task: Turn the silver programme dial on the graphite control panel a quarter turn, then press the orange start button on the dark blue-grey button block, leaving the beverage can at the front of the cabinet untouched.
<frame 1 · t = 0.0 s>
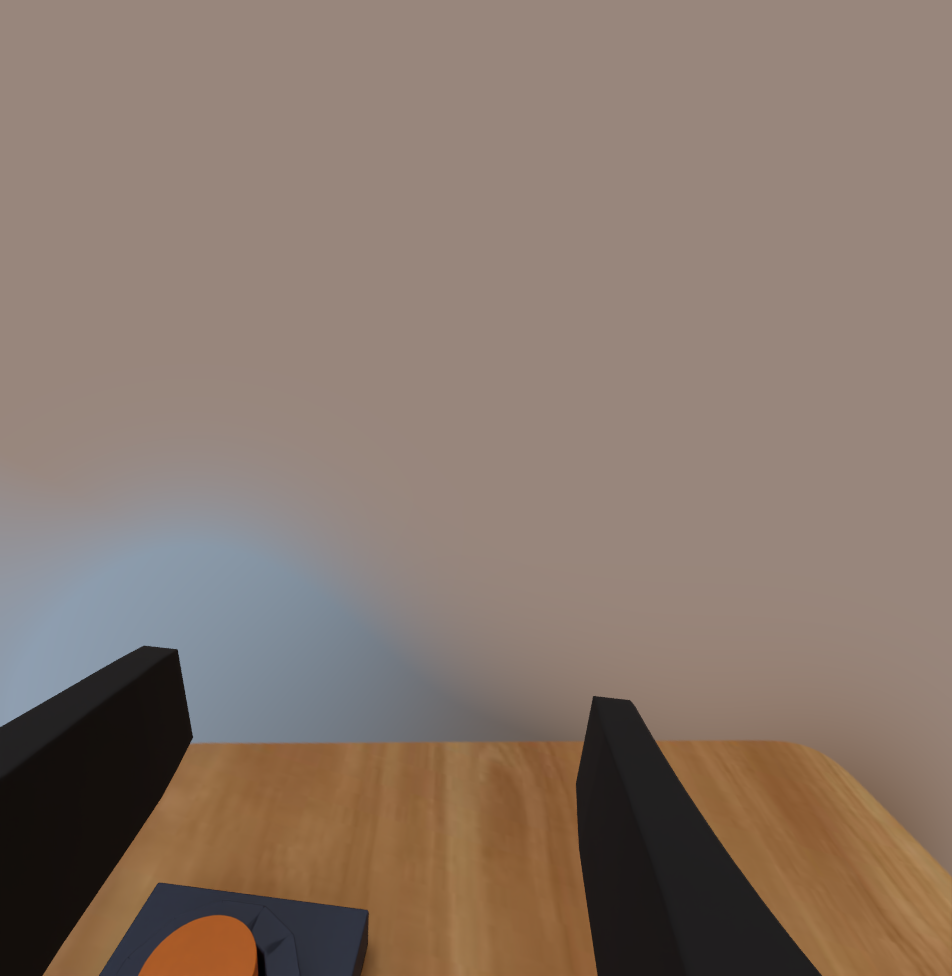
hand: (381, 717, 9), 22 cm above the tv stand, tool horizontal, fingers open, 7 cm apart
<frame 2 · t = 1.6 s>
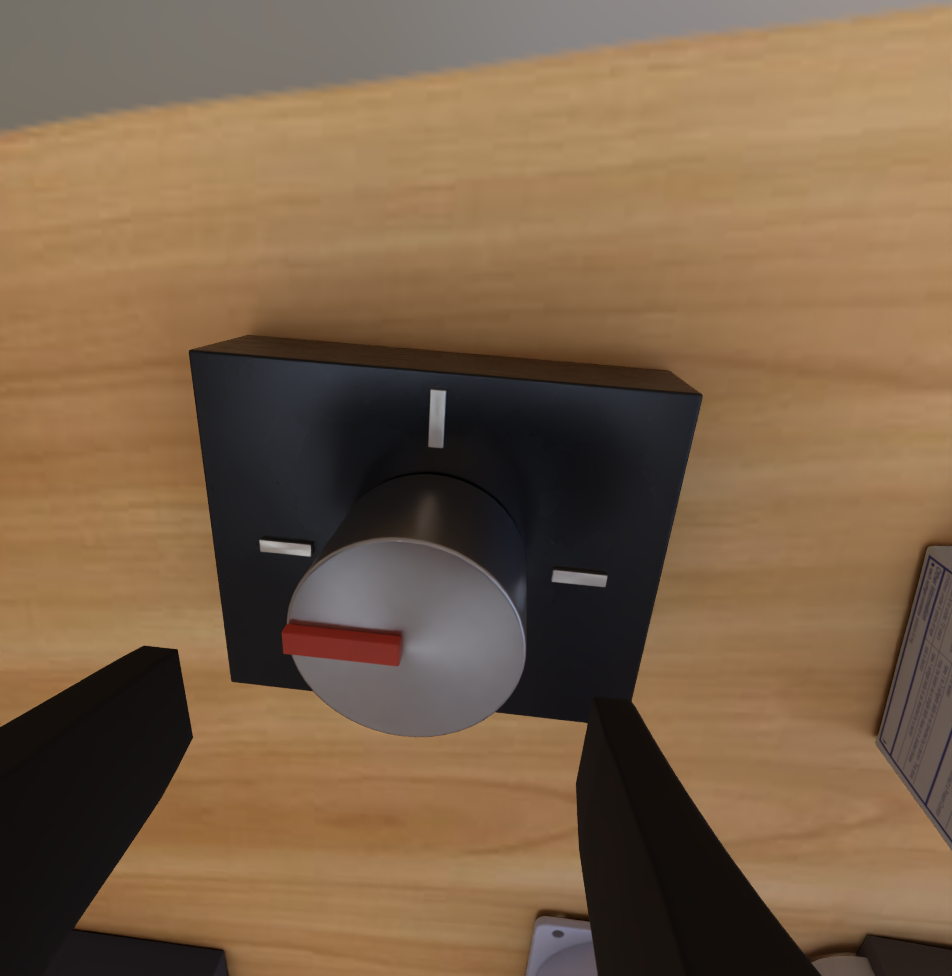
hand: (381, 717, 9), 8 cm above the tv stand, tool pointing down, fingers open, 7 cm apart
programme dial: (418, 602, 13), point 5 cm above the tv stand, hinge at 0.0°
dial panel: (446, 512, 17), on the tv stand
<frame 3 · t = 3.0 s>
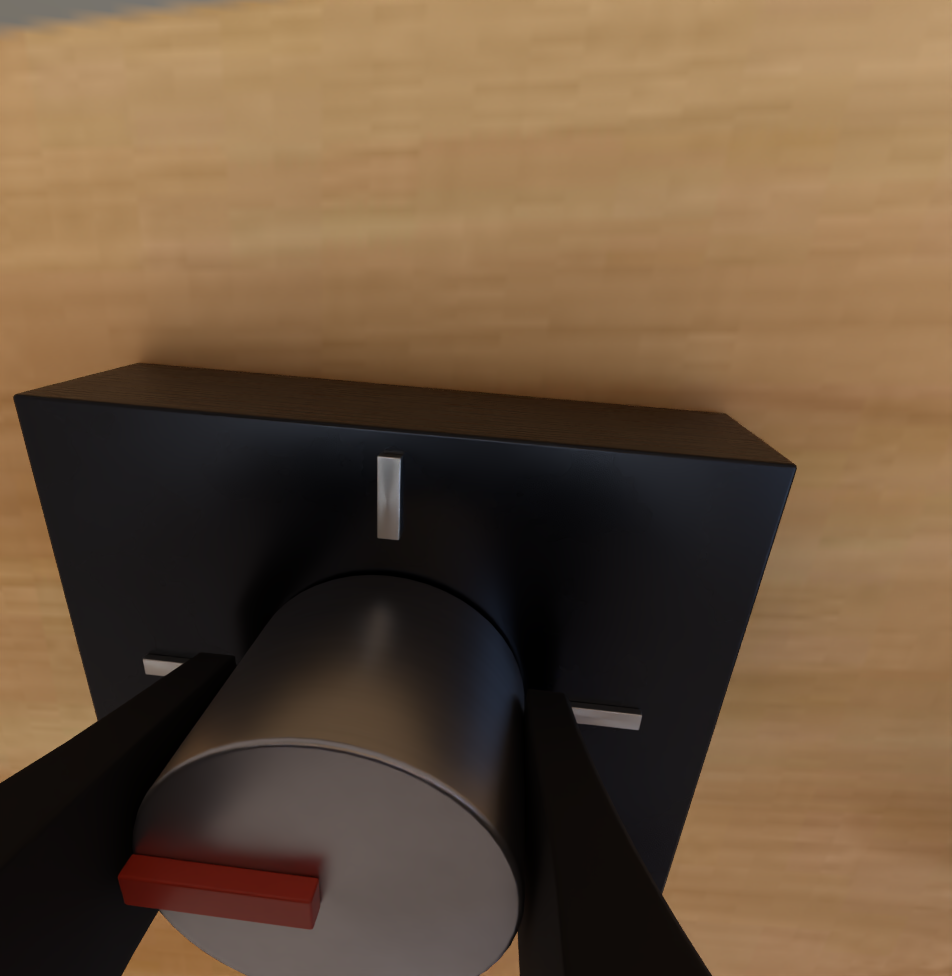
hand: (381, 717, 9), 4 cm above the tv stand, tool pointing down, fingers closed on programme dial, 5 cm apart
programme dial: (359, 780, 8), point 5 cm above the tv stand, hinge at -0.1°, touching gripper
dial panel: (417, 597, 13), on the tv stand
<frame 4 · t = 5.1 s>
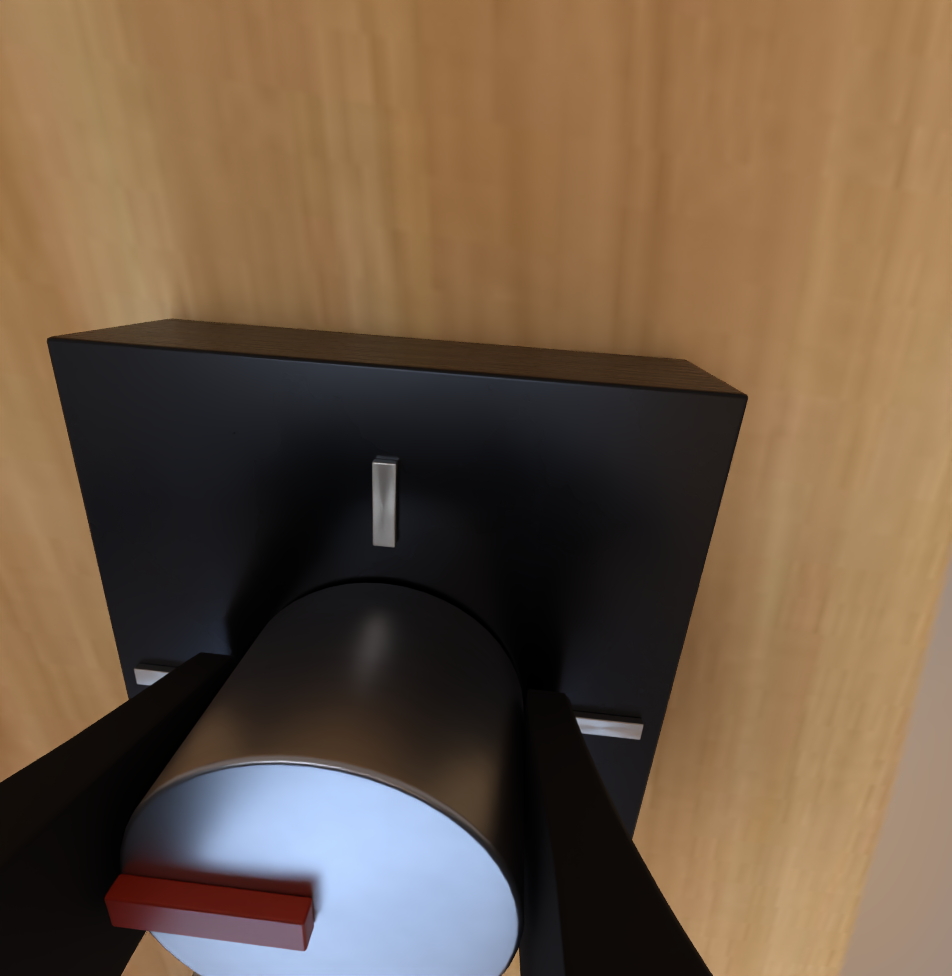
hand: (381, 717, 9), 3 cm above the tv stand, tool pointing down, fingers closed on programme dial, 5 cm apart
programme dial: (355, 793, 8), point 5 cm above the tv stand, hinge at 90.0°, touching gripper
dial panel: (414, 603, 13), on the tv stand
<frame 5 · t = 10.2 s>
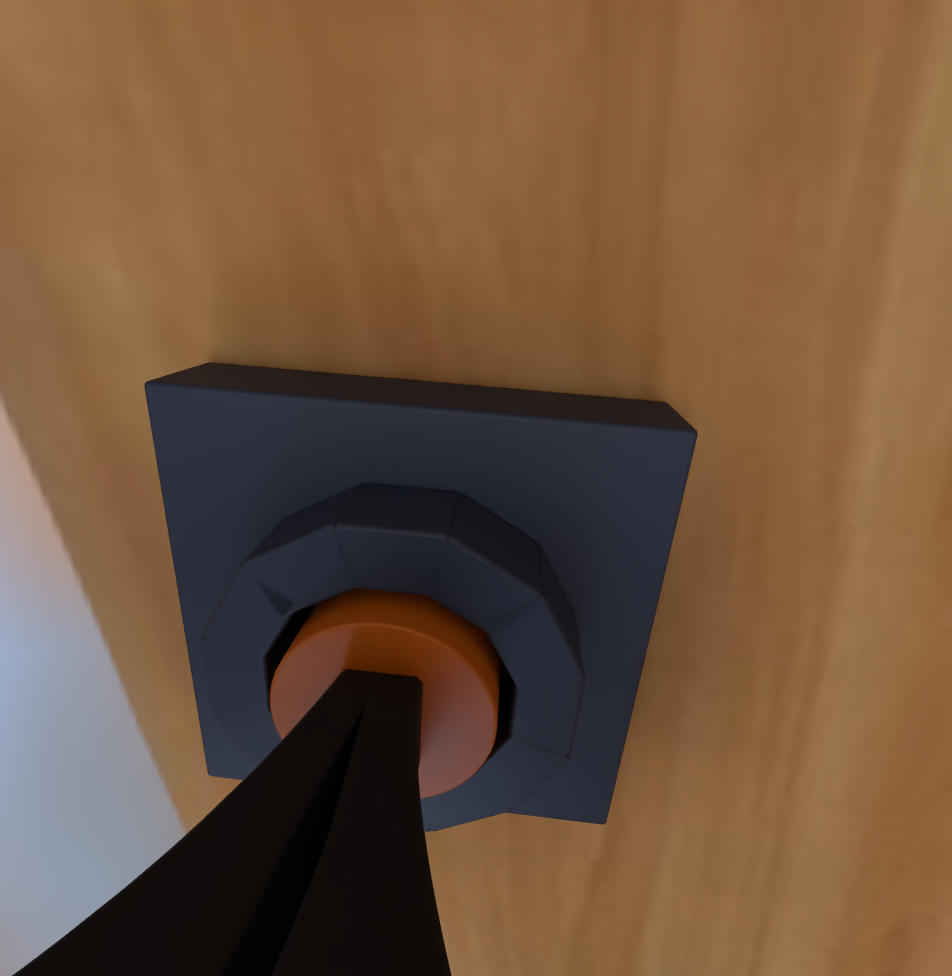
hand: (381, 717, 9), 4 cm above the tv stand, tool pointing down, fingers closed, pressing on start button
start button: (392, 684, 10), point 4 cm above the tv stand, slide at -0.8 cm, touching gripper
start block: (424, 580, 14), on the tv stand
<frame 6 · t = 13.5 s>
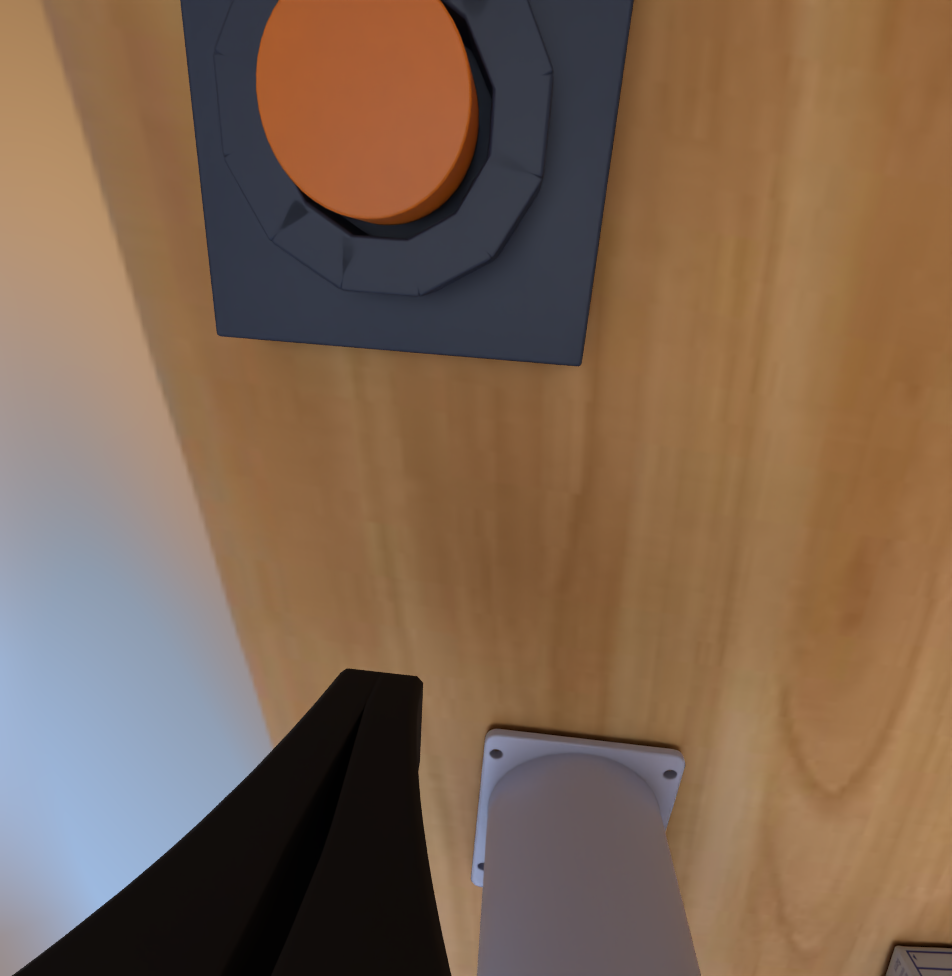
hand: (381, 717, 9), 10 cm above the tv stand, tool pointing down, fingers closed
start button: (374, 109, 11), point 4 cm above the tv stand, slide at 0.1 cm
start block: (415, 152, 15), on the tv stand
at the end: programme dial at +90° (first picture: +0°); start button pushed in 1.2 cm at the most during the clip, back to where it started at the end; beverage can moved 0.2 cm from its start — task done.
